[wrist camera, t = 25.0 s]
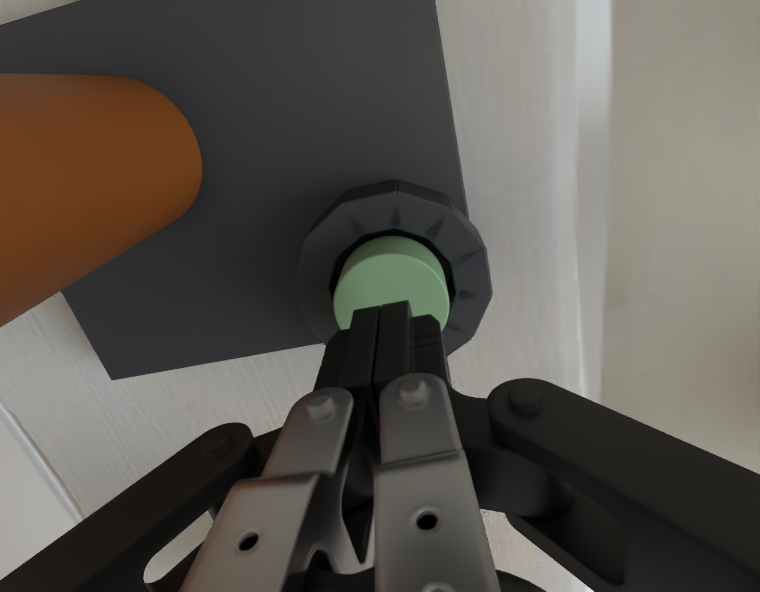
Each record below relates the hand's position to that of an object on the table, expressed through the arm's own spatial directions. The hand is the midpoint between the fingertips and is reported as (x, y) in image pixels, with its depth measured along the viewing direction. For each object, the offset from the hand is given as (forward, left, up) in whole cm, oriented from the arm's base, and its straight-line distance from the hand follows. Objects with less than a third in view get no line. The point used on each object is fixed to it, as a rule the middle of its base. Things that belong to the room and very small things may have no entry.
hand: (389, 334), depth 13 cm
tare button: (0, 0, -3) cm, 4 cm away
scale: (-5, +4, -7) cm, 9 cm away
